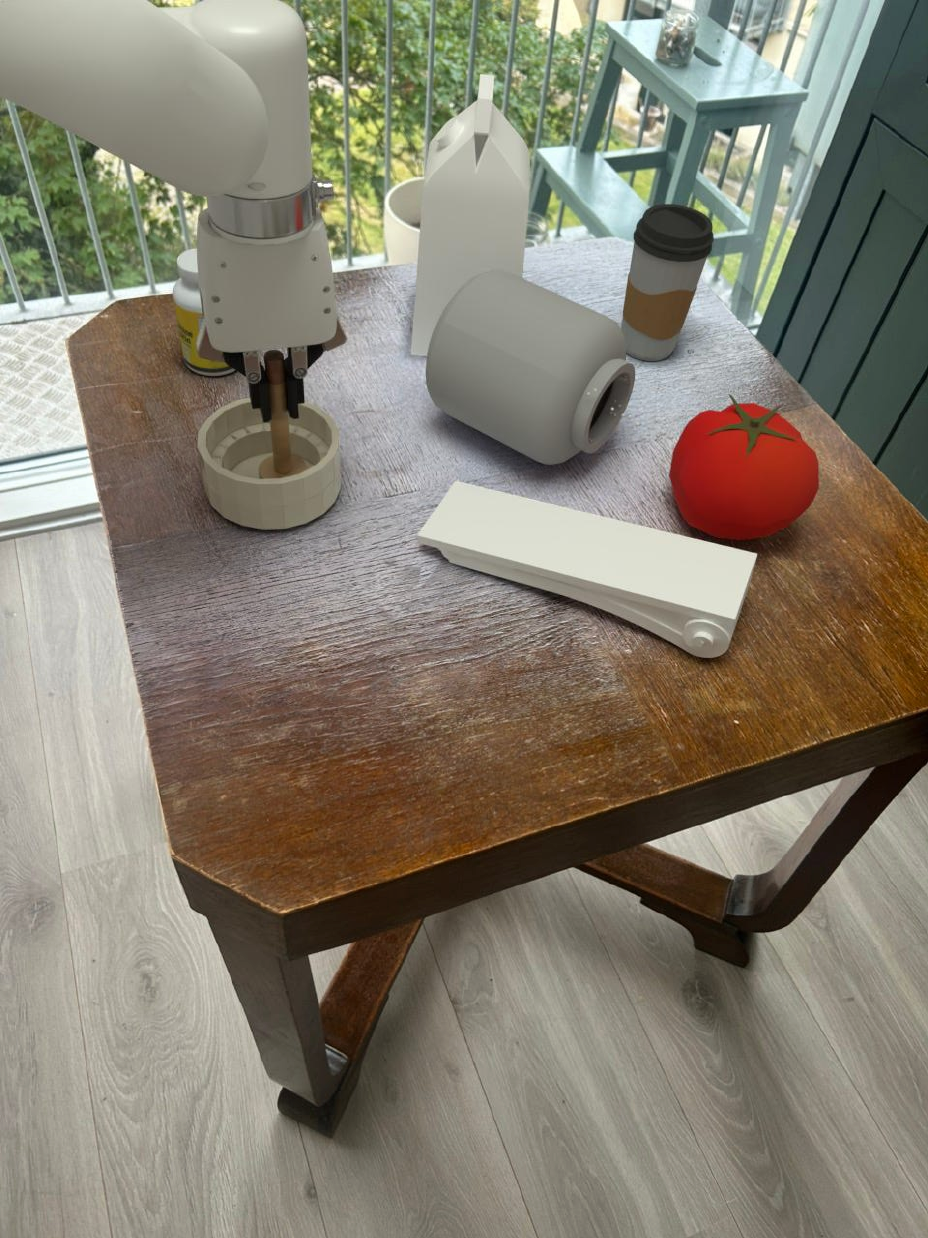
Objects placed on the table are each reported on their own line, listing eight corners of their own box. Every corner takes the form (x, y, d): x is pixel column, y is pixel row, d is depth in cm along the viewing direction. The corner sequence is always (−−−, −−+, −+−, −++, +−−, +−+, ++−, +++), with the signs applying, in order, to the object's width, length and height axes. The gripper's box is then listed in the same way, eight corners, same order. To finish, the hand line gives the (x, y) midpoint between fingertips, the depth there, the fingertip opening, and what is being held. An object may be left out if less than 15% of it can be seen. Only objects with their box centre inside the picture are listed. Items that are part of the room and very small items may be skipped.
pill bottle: (190, 341, 104) (174, 239, 95) (250, 345, 104) (239, 244, 95) (178, 376, 100) (160, 274, 91) (241, 381, 100) (229, 279, 91)
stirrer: (250, 489, 88) (235, 358, 77) (278, 463, 90) (267, 333, 80) (290, 507, 87) (280, 377, 76) (317, 480, 89) (311, 351, 79)
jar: (545, 309, 105) (740, 390, 91) (484, 432, 107) (664, 527, 94) (448, 233, 89) (666, 317, 76) (379, 379, 92) (577, 484, 78)
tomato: (685, 457, 97) (717, 361, 89) (810, 511, 93) (856, 415, 85) (635, 525, 90) (664, 426, 81) (768, 586, 86) (814, 489, 78)
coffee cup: (665, 323, 114) (697, 199, 102) (693, 364, 108) (731, 238, 97) (599, 329, 112) (625, 203, 100) (625, 370, 107) (656, 243, 95)
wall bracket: (424, 593, 90) (721, 678, 81) (409, 550, 83) (729, 637, 75) (464, 511, 94) (751, 583, 85) (453, 463, 88) (761, 536, 79)
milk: (514, 364, 106) (547, 118, 86) (410, 354, 105) (420, 105, 86) (515, 305, 114) (546, 68, 94) (419, 296, 113) (429, 56, 94)
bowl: (178, 500, 88) (167, 449, 83) (259, 430, 95) (254, 379, 90) (290, 553, 84) (286, 502, 80) (365, 475, 92) (365, 425, 87)
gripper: (357, 171, 72) (358, 375, 86) (142, 182, 69) (179, 395, 83) (380, 218, 68) (377, 426, 82) (151, 234, 64) (189, 450, 78)
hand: (278, 409), depth 82 cm, fingers closed on stirrer
